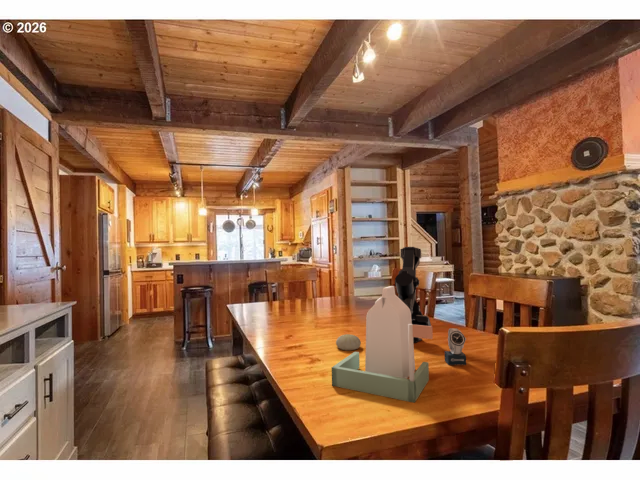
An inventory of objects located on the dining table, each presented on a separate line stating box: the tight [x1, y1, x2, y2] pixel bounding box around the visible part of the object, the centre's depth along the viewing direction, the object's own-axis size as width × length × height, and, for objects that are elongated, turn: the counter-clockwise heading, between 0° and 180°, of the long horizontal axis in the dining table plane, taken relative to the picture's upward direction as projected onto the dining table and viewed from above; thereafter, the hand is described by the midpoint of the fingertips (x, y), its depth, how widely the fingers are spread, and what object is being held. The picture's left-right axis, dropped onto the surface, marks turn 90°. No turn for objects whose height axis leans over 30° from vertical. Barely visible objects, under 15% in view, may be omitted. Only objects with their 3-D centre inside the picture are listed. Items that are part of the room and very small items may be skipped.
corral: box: [331, 324, 434, 403], centre depth 97 cm, size 16×28×19 cm, turn 60°
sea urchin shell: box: [335, 333, 362, 351], centre depth 131 cm, size 9×8×8 cm
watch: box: [444, 328, 467, 366], centre depth 113 cm, size 6×8×11 cm
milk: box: [364, 285, 416, 379], centre depth 105 cm, size 12×12×26 cm
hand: (395, 343), depth 110 cm, fingers closed
